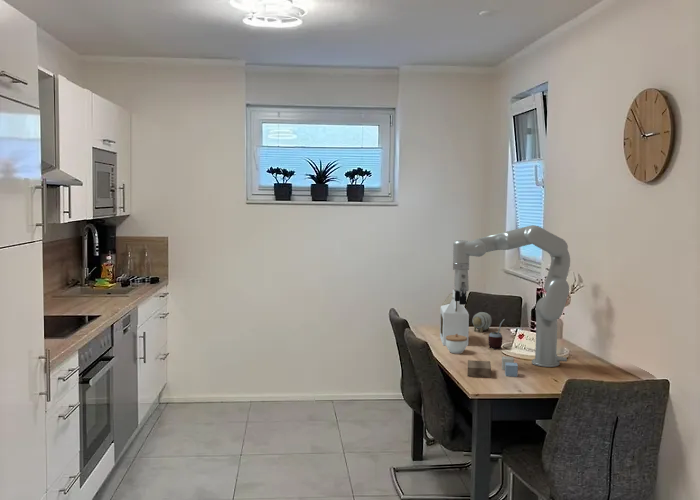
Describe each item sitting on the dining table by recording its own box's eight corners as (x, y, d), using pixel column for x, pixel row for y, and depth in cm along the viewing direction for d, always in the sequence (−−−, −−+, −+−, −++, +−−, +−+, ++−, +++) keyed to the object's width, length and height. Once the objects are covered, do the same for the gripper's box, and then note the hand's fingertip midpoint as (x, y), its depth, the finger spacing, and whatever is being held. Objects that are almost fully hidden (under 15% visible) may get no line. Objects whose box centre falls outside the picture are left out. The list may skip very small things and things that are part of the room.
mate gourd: (487, 349, 339) (487, 320, 338) (489, 346, 346) (490, 317, 345) (502, 350, 336) (502, 321, 335) (504, 347, 344) (504, 318, 342)
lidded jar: (444, 349, 338) (444, 331, 337) (465, 349, 337) (465, 331, 337) (446, 354, 327) (447, 336, 326) (468, 354, 327) (468, 336, 326)
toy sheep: (467, 331, 382) (467, 312, 381) (480, 327, 395) (481, 309, 394) (483, 334, 375) (484, 315, 374) (496, 329, 388) (497, 311, 388)
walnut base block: (490, 370, 298) (490, 361, 298) (490, 377, 286) (491, 368, 285) (467, 368, 300) (467, 360, 300) (467, 376, 287) (467, 367, 287)
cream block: (512, 367, 303) (513, 356, 303) (513, 370, 298) (513, 359, 298) (501, 367, 304) (502, 356, 304) (502, 369, 299) (502, 359, 299)
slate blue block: (516, 374, 292) (516, 363, 292) (517, 377, 287) (517, 365, 287) (505, 373, 293) (505, 362, 293) (505, 376, 288) (506, 365, 288)
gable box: (468, 346, 346) (469, 293, 343) (443, 345, 346) (443, 293, 344) (463, 337, 368) (464, 287, 365) (439, 336, 368) (440, 287, 366)
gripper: (473, 268, 301) (472, 305, 302) (464, 264, 318) (464, 299, 319) (457, 268, 300) (456, 305, 302) (449, 264, 318) (448, 299, 319)
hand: (460, 302), depth 311 cm, fingers open, 9 cm apart
